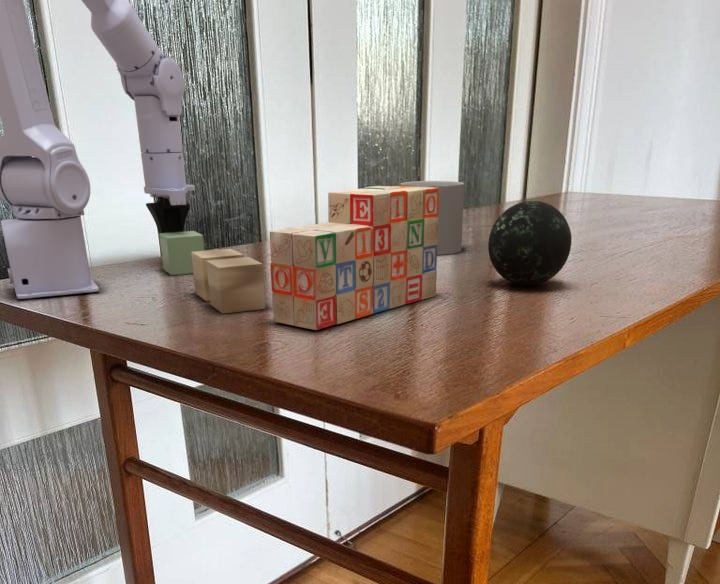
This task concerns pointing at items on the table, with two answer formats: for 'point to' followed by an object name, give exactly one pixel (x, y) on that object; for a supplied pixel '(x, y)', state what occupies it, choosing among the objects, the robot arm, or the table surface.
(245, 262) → the front birch block
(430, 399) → the table surface
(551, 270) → the decorative stone
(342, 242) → the stack of blocks
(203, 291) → the middle birch block
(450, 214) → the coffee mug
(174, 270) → the sage block
